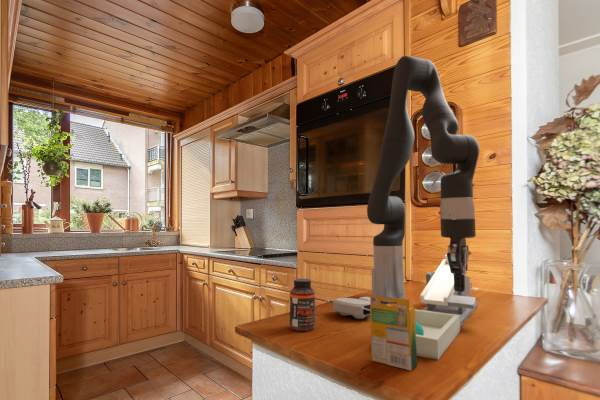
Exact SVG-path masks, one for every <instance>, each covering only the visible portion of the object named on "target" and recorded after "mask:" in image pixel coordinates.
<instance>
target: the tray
mask: <svg viewBox="0 0 600 400" xmlns="http://www.w3.org/2000/svg"><path fill="white" fill-rule="evenodd" d="M415 322H417V323H419V324H420V325H421V326H422V328H423V330H424V336H423V335H417V334H416V350H417V356H418V357H421V358H427V359H432V360H440V359H441V357H442V356H443V354H444V353H445V351H447V349H448V348H449V347H450V345H451V343H452V342H453V341H454V340H456V337H457V336H458V335H459V333H460V332H461V327H460V315H455V314H448V313H440V312H432V311H425V310H422V309H416V308H415Z"/></svg>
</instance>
